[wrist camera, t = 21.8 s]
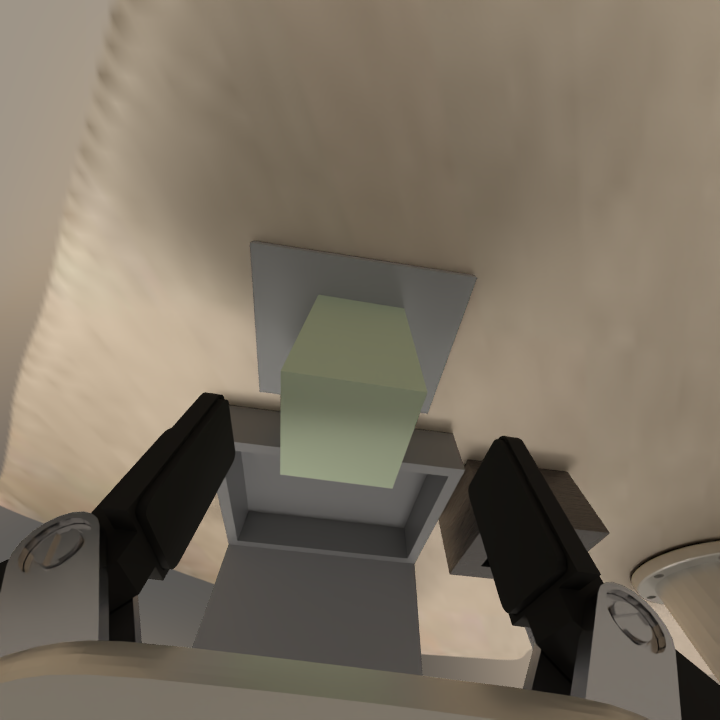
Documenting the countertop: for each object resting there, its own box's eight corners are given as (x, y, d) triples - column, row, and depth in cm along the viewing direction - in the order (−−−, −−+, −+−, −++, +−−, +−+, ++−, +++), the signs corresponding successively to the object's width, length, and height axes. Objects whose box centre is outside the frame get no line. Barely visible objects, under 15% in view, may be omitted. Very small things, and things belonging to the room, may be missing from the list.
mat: (473, 274, 14) (477, 277, 13) (426, 408, 19) (427, 413, 18) (253, 240, 13) (249, 242, 13) (262, 386, 18) (259, 391, 18)
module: (404, 308, 14) (427, 392, 8) (384, 384, 17) (392, 488, 11) (318, 294, 14) (280, 370, 8) (312, 373, 17) (280, 474, 11)
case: (452, 433, 20) (465, 470, 17) (410, 527, 27) (414, 563, 24) (227, 405, 19) (205, 438, 17) (242, 509, 26) (228, 544, 23)
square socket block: (567, 472, 22) (609, 533, 18) (521, 525, 26) (547, 584, 22) (468, 459, 21) (489, 519, 17) (437, 516, 25) (449, 574, 22)
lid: (436, 866, 14) (431, 859, 15) (414, 563, 24) (411, 566, 25) (120, 849, 14) (127, 842, 14) (228, 544, 23) (230, 547, 24)
